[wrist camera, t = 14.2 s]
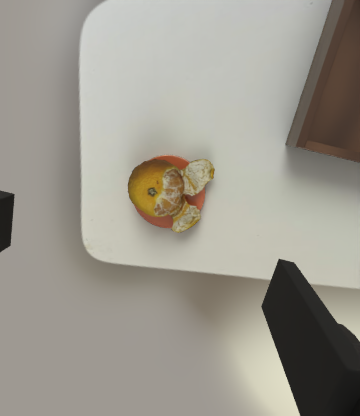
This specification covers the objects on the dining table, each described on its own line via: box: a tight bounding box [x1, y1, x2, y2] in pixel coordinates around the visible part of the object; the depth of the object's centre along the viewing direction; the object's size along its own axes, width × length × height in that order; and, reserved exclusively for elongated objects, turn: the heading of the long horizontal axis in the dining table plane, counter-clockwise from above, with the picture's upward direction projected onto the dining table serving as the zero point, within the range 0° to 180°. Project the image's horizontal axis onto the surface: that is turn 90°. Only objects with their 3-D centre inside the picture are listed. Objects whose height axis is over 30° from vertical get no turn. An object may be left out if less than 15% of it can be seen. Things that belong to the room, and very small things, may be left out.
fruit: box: [128, 159, 215, 233], centre depth 30 cm, size 8×8×4 cm
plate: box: [134, 155, 205, 228], centre depth 32 cm, size 8×8×1 cm
